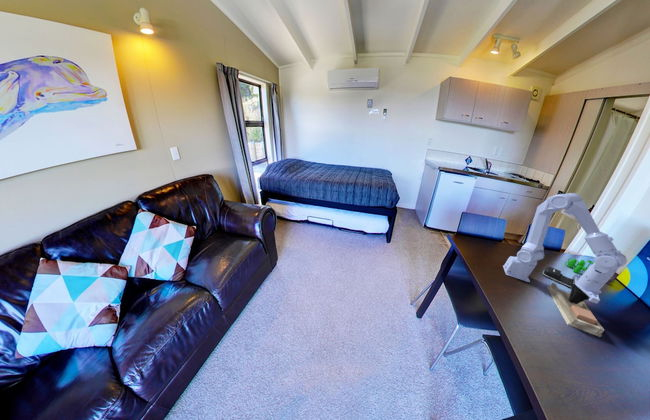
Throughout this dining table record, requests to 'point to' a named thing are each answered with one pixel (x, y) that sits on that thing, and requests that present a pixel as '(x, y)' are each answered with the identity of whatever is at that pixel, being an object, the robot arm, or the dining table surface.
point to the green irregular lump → (580, 264)
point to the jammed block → (584, 315)
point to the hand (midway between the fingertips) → (572, 302)
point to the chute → (567, 313)
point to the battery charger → (558, 276)
